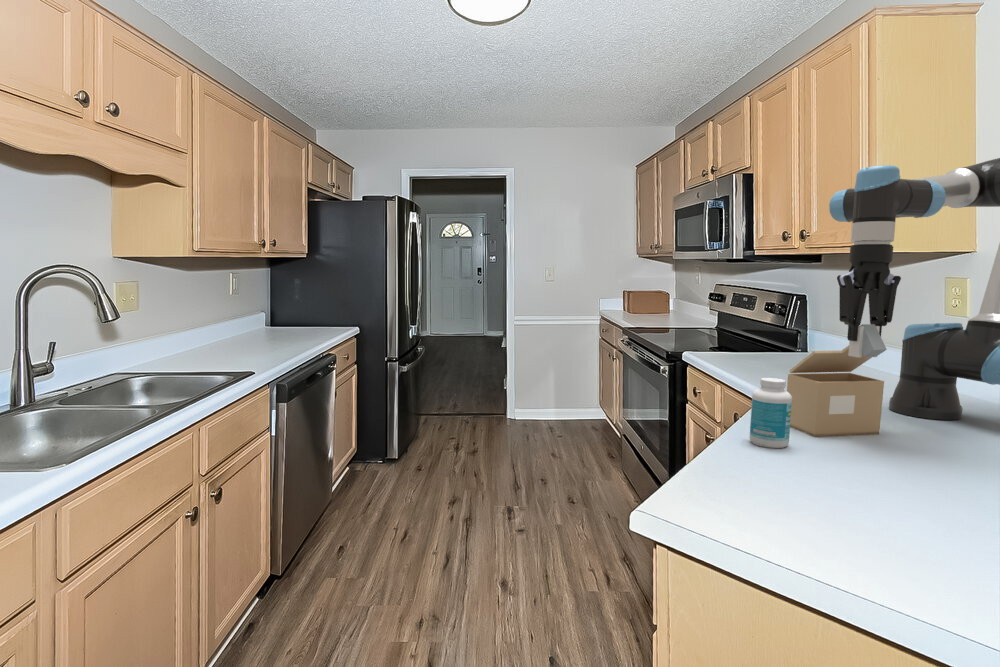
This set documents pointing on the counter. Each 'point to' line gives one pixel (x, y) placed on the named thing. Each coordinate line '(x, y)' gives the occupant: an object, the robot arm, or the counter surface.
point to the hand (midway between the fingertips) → (862, 356)
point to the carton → (835, 404)
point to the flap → (843, 355)
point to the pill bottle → (771, 414)
